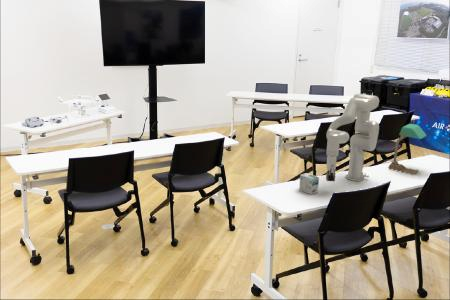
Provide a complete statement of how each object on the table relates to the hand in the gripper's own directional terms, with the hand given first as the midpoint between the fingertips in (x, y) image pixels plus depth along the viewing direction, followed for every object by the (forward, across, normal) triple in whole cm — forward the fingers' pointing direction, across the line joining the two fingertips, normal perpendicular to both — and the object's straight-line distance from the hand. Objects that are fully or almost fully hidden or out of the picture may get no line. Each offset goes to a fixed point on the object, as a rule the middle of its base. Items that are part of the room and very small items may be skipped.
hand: (330, 178), depth 290 cm
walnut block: (+1, 0, 0) cm, 1 cm away
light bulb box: (+9, +2, -14) cm, 16 cm away
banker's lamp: (+12, -55, +60) cm, 83 cm away
